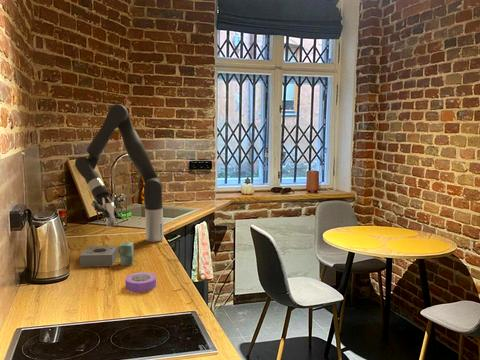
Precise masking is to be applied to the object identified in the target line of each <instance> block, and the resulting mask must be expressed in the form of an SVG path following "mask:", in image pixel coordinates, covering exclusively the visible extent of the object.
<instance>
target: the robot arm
mask: <svg viewBox="0 0 480 360" xmlns="http://www.w3.org/2000/svg"><path fill="white" fill-rule="evenodd" d="M116 128H117V129H118V130H119V133H120V135H121V138H122V142H123V145H124V148H125V150H126V153H127V154H128V158H129V159H130V160H131V162H132V164H133V165H134V166H135V168H136V169H137V170H138V172H139V173H140V176H141V177H142V180H143V184H144V185H143V203H144V219H145V220H144V223H145V229H144V230H145V241H146V242H150V243H151V242H153V243H155V242H162V241H164V233H165V232H164V218H163V217H164V216H163V215H164V214H163V211H164V210H163V196H162V195H163V192H162V190H163V183H162V181H161V179H160V177H159V176H158V175H157V173H156V171H155V169H154V167H153V164H152V162H151V159H150V156H149V154H148V152H147V149H146V148H145V146H144V143H143V141H142V139H141V137H140V136H139V134H138V132H137V131H136V129H135V128H134V125H133V123H132V120H131V117H130V114H129V111H128V108H127V107H126V106H124V105H122V104H118V103H116V104H112V106H110V108H109V110H108V113H107V115H106V117H105V120H104V121H103V123H102V125H101V127H100V128H99V130H98V132H97V133H96V135H95V136H94V138H92V140H91V142H90V143H89V145H88V147H87V148H86V152H87V153H88V157H86V156H78V157H77V158H76V159H75V161H74V166H75V169H76V170H77V172H78V173H79V174H80V176H82V177H83V179H84V180H85V182H86V184H87V186H88V188H89V192H90V193H91V195H92V198H93V199H94V200H92V202H91V206H92V207H93V208H94V209H95V210H96V211H97V212H98V213H103V216H104V217H105V219H106V218H109V217H110V215H109V213H108V211H107V210H106V203H107V202H114V211H115V218H116V217H118V216H119V212H118V208H119V206H120V205H119V200H118V197H116V196H115V197H112V196H111V195H110V192H109V190H108V189H107V186H106V185H105V183H104V181H103V180H102V179H101V176H100V174H99V172H97V171H96V170H95V169H96V167H97V165H98V161H99V158H100V156H101V154H102V153H103V151H104V149H105V147H106V146H107V144H108V143H109V141H110V138H112V137H111V136H112V135H113V133H114V132H115V130H116Z"/></svg>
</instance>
